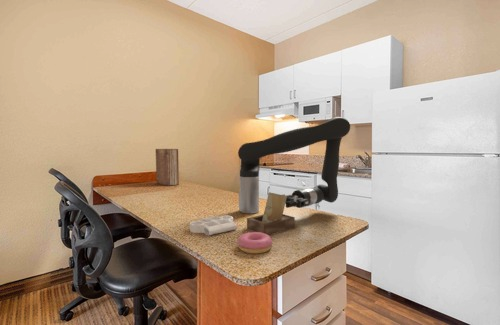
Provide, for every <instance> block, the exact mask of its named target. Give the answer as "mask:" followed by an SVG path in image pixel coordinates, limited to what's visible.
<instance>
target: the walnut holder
mask: <svg viewBox="0 0 500 325" xmlns="http://www.w3.org/2000/svg"><path fill="white" fill-rule="evenodd" d="M263 215H264V213H263V214H259V215H255V216H251V217H248V218H246V229H248V230H249V231H251V232H261V233H265V234H268V235H269V236H272V235H275V234H277V233H281V232H285V231H287V230H290V229H294V228H295V225H296V224H295V222H296V221H295V220H296V219H295V218H296V217H295V216H292V215H288V214H284V213H283V215H282V219H280V220H277V221H273V222H269V223H265V222H262V219H263Z"/></svg>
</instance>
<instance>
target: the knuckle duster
mask: <svg viewBox="0 0 500 325" xmlns="http://www.w3.org/2000/svg"><path fill="white" fill-rule="evenodd" d="M237 229H238V226H237V224H236V222H234V217H233V216H232V215H228V214H226V215H219V216H217V215H216V216H214V215H213V216H209V217H203V218H200V219H198V220H193V221H190V223H189V232H190V233H194V234H201V233H202V234H204V235H206V236H208V237H210V236H213V235H217V234H221V233H225V232H229V231H235V230H237Z"/></svg>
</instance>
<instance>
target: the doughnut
mask: <svg viewBox="0 0 500 325" xmlns="http://www.w3.org/2000/svg"><path fill="white" fill-rule="evenodd" d="M236 244H237V246H238V249H239V250H241V251H242V252H244V253H247V254H252V255H254V254H255V255H257V254H258V255H259V254H263V253H267V252H268V251H269V250H270V249H271V248H272V246H273V240H272V237H271V235H268V234H265V233H261V232H255V231H248V232H245V233H242V234H241V235H240V236H239V237H238V239H237V243H236Z"/></svg>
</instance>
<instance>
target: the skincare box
mask: <svg viewBox="0 0 500 325" xmlns="http://www.w3.org/2000/svg"><path fill="white" fill-rule="evenodd" d="M284 195H285V194H284ZM284 195H283V194H278V193H275V192H268V195H267V198H266V203H265V206H264V210H263V211H264V212H263V214H264V215H263V214H262V215H263V219H262V222H265V223H269V222H273V221H277V220H280V219H282V215H283V214H284V211H285V207H286V204H285V202H286V198H287V196H284Z"/></svg>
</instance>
